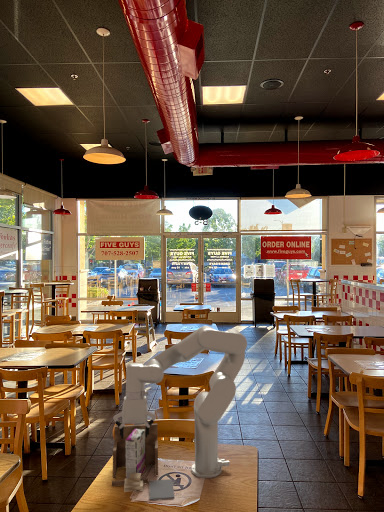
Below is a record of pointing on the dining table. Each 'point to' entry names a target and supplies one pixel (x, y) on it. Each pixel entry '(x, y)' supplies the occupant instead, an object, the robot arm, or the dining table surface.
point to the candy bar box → (135, 452)
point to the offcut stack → (133, 482)
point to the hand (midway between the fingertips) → (134, 436)
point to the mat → (161, 489)
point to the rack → (120, 455)
